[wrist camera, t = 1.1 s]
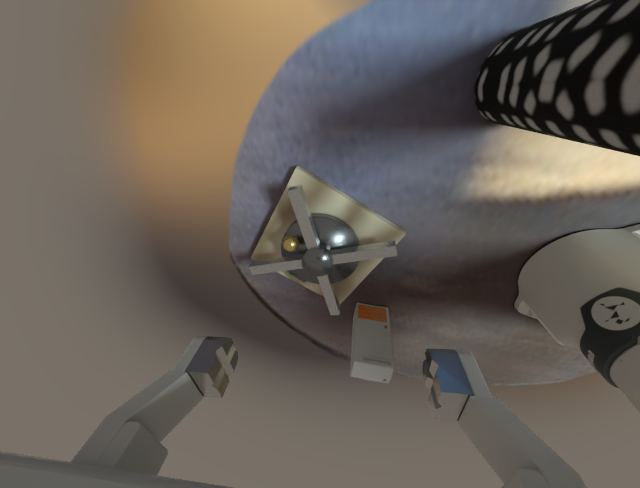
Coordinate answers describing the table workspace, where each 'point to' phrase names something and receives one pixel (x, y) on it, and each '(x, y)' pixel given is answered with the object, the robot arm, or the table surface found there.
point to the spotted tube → (570, 77)
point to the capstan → (320, 249)
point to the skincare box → (371, 344)
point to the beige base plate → (336, 204)
